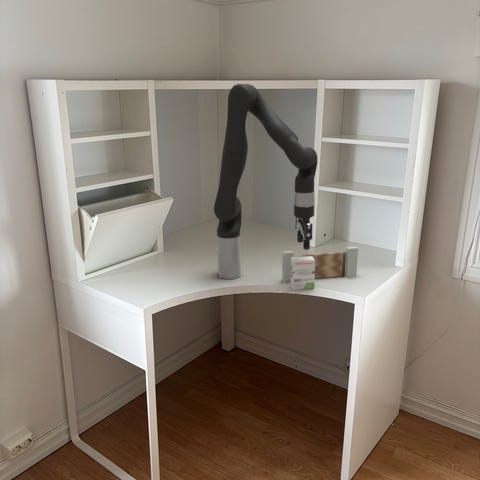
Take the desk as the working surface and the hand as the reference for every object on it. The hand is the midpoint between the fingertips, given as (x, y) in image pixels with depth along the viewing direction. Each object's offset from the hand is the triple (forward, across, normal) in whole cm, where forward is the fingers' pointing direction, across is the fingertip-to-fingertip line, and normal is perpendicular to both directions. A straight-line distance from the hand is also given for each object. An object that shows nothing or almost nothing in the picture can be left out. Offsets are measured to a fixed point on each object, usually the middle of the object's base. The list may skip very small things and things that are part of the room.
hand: (303, 245), depth 184 cm
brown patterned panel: (+16, -8, +10) cm, 21 cm away
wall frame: (+17, -7, +9) cm, 20 cm away
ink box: (+17, 0, 0) cm, 17 cm away
